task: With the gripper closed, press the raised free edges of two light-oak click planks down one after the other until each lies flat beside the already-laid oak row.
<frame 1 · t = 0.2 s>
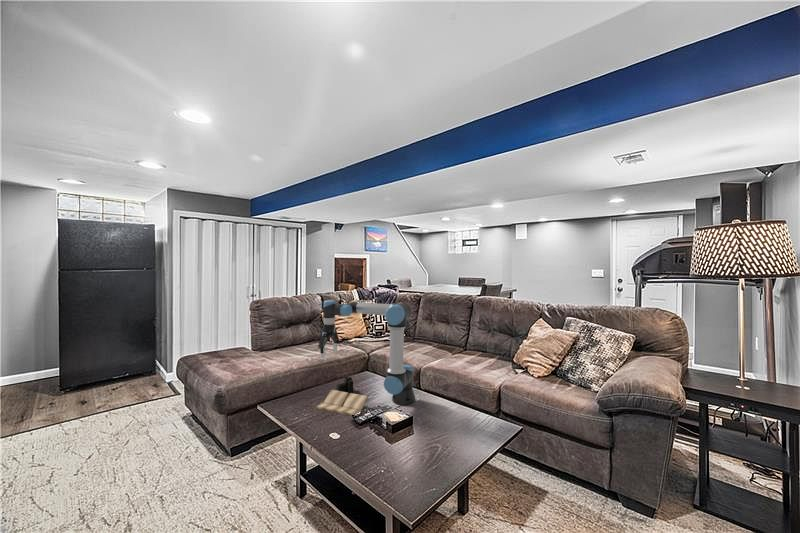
hand: (329, 355, 223), 27 cm above the table, fingers open, 13 cm apart
oak row: (338, 410, 203), on the table
plank b: (336, 398, 213), point 3 cm above the table, hinge at 30.0°
camera: (344, 392, 231), on the table
plank a: (355, 401, 208), point 3 cm above the table, hinge at 30.0°
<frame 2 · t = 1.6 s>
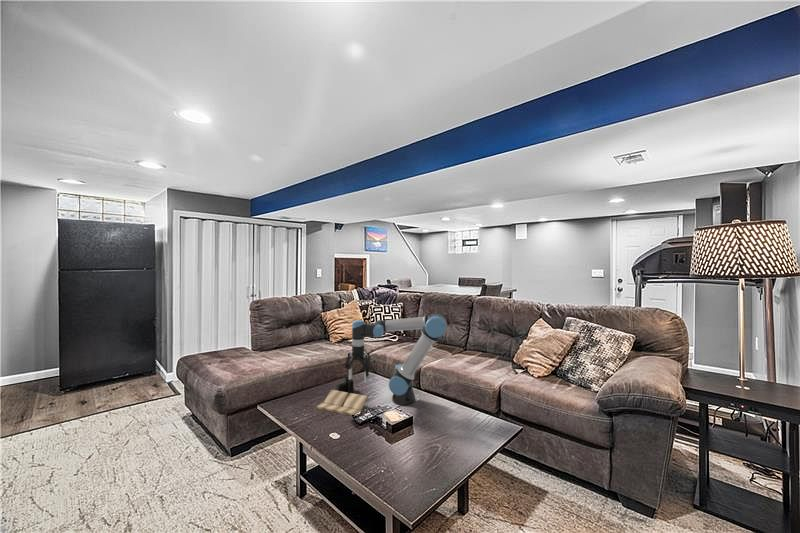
hand: (357, 380, 210), 16 cm above the table, fingers open, 10 cm apart
nothing on the table moved.
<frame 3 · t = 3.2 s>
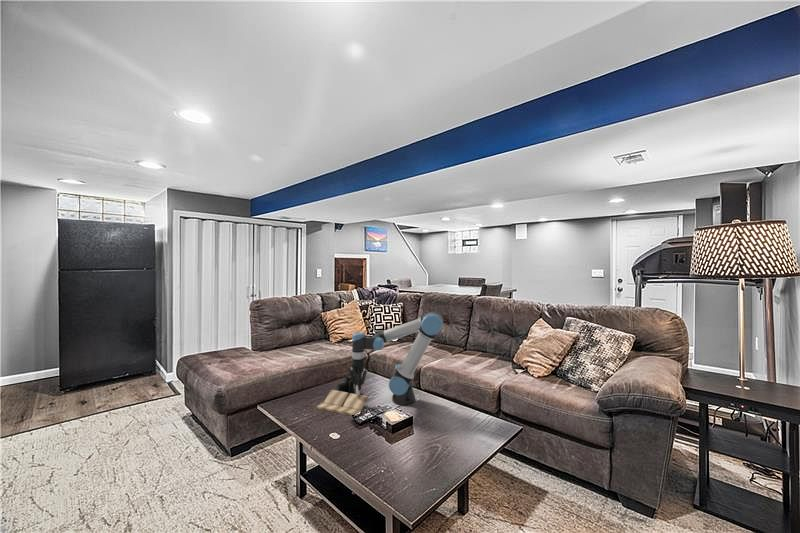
hand: (357, 394, 210), 6 cm above the table, fingers closed
plank a: (355, 401, 208), point 3 cm above the table, hinge at 29.1°, touching gripper
everything else where it was.
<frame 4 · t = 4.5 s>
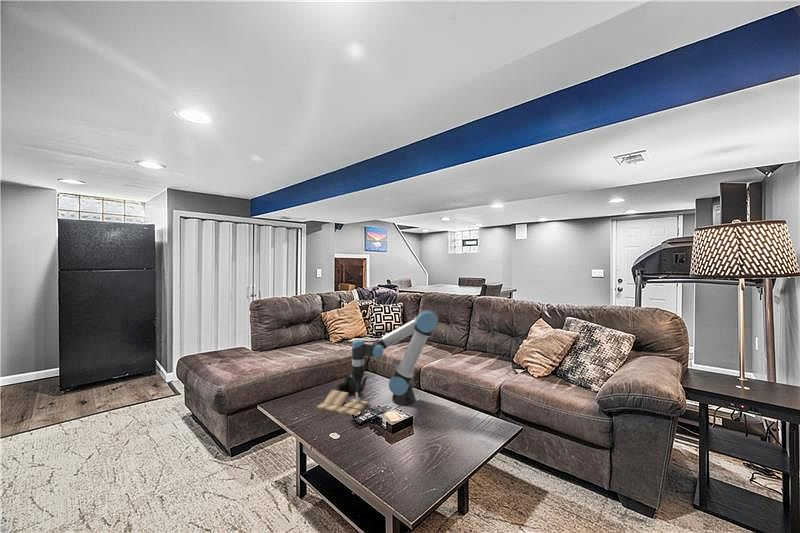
hand: (357, 401, 211), 2 cm above the table, fingers closed
plank a: (356, 404, 209), point 1 cm above the table, hinge at 2.6°, touching gripper
everything else where it was.
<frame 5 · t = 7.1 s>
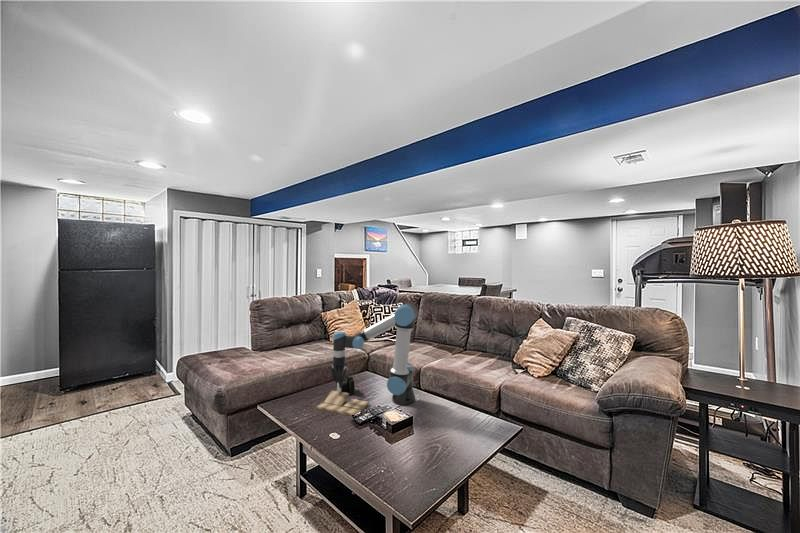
hand: (339, 392, 216), 6 cm above the table, fingers closed
plank b: (336, 398, 213), point 3 cm above the table, hinge at 25.7°, touching gripper
plank a: (356, 404, 209), point 1 cm above the table, hinge at 2.6°
everything else where it was.
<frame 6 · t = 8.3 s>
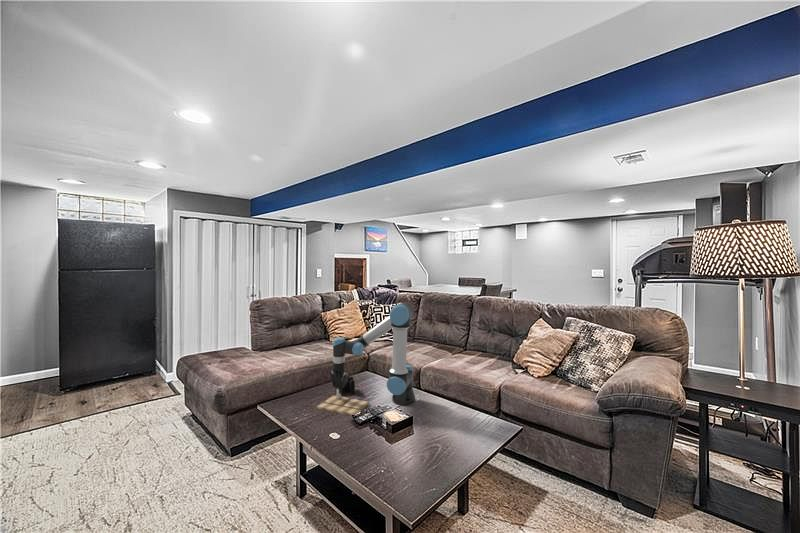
hand: (338, 398, 216), 2 cm above the table, fingers closed
plank b: (337, 400, 214), point 1 cm above the table, hinge at 3.3°, touching gripper
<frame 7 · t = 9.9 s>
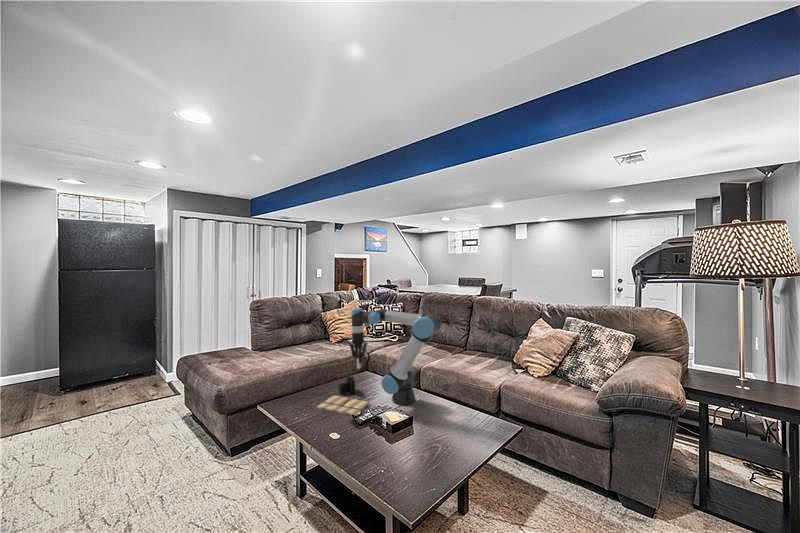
hand: (358, 367, 219), 21 cm above the table, fingers closed
plank b: (337, 400, 214), point 1 cm above the table, hinge at 3.2°
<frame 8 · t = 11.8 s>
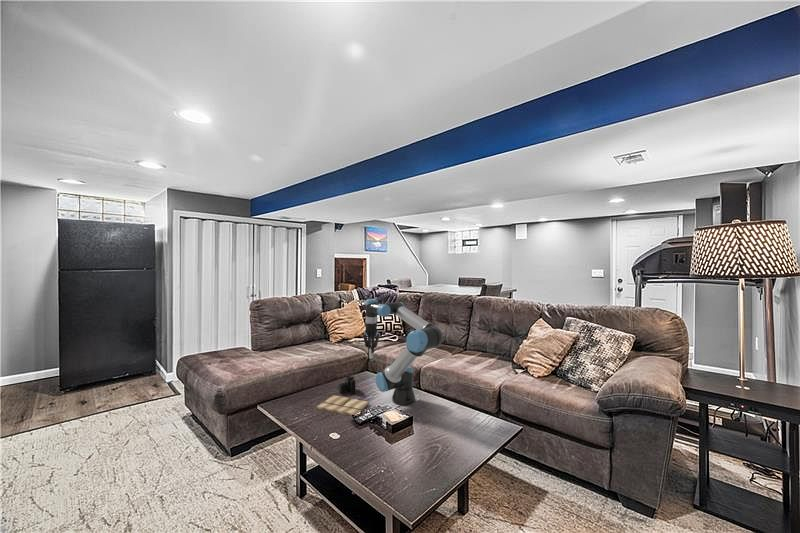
hand: (371, 357, 222), 26 cm above the table, fingers closed
at the end: plank a at +3° (first picture: +30°); plank b at +3° (first picture: +30°) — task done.
